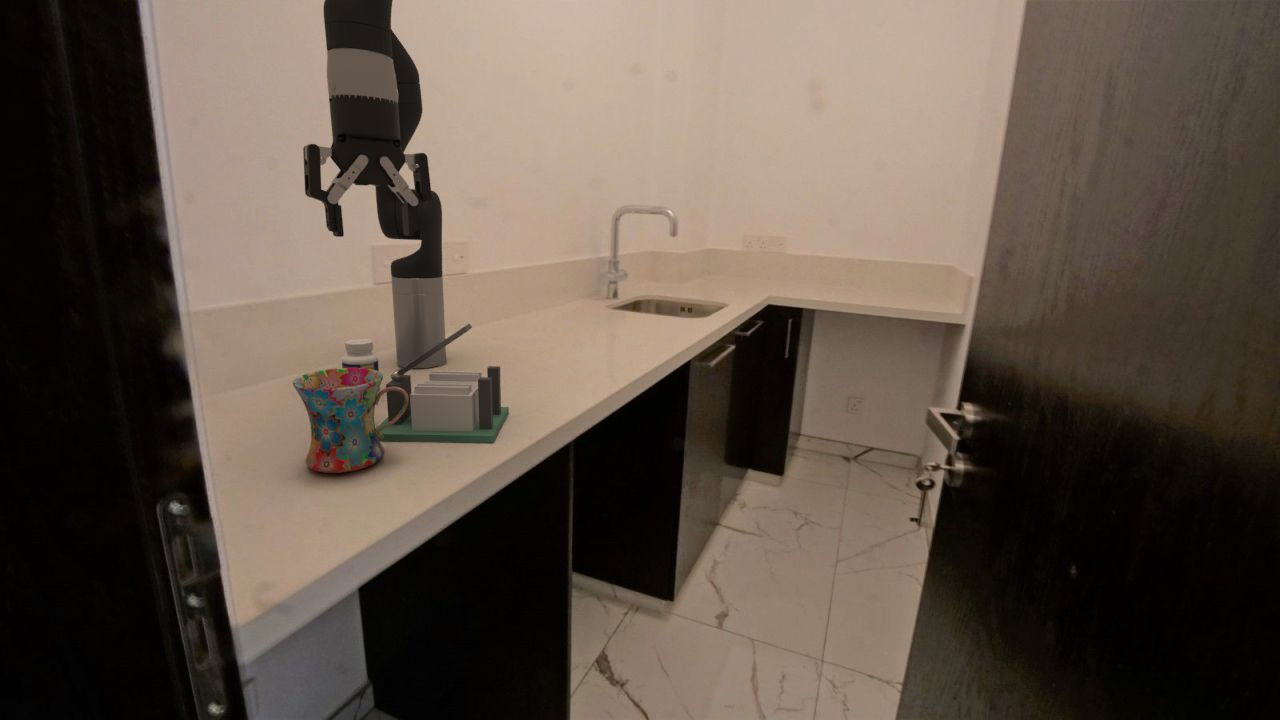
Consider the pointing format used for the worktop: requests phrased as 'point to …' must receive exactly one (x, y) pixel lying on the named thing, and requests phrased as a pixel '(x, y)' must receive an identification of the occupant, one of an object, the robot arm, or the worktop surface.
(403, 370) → the strap
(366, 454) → the mug
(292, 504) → the worktop surface
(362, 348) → the pill bottle
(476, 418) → the heatsink base
